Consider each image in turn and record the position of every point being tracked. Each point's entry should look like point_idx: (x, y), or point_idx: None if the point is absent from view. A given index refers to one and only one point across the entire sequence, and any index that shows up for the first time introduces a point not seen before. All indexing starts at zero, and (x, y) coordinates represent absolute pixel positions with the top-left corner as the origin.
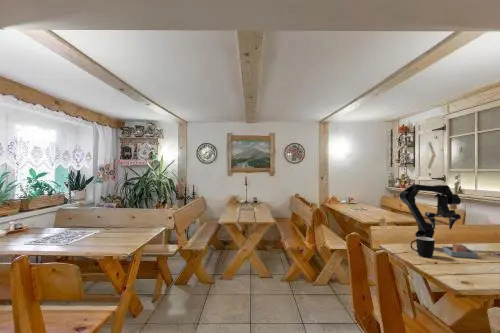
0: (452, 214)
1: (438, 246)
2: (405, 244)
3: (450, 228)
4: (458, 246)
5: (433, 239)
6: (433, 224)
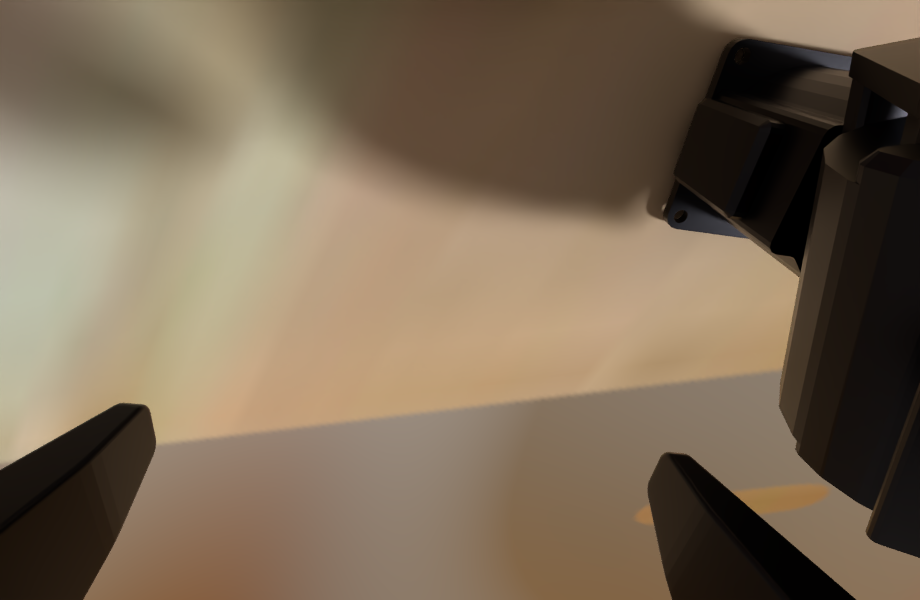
0: None
1: (441, 283)
2: None
3: (117, 426)
4: None
5: None
6: (834, 588)
